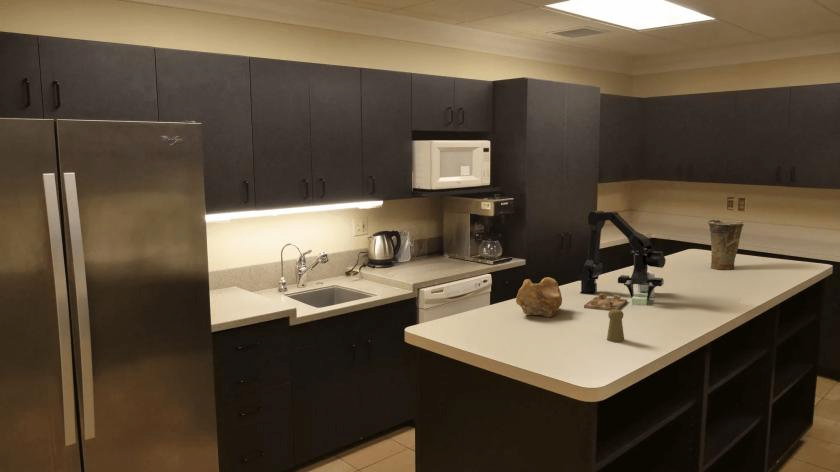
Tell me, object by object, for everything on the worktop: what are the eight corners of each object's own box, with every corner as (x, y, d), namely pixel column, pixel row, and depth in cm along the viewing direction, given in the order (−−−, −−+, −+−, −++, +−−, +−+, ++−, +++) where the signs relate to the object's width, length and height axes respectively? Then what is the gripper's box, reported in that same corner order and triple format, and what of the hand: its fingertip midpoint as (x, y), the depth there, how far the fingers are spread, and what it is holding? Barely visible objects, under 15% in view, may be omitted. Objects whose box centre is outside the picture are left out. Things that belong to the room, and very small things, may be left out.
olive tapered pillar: (604, 337, 228) (604, 308, 226) (620, 337, 228) (620, 307, 227) (610, 342, 222) (610, 312, 220) (627, 341, 222) (627, 311, 221)
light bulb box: (654, 297, 287) (655, 274, 286) (639, 297, 289) (639, 274, 287) (650, 292, 298) (651, 270, 296) (636, 292, 299) (636, 270, 298)
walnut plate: (584, 307, 272) (584, 300, 272) (595, 299, 287) (595, 292, 287) (616, 311, 265) (616, 303, 265) (627, 302, 280) (627, 295, 280)
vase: (706, 264, 363) (708, 218, 359) (741, 266, 355) (743, 219, 351) (705, 270, 347) (707, 222, 343) (742, 272, 339) (744, 223, 335)
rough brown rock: (541, 325, 251) (545, 288, 248) (509, 314, 263) (512, 279, 260) (575, 315, 266) (578, 281, 264) (543, 306, 278) (546, 273, 276)
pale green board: (631, 304, 276) (631, 298, 276) (634, 299, 287) (634, 292, 286) (646, 305, 273) (646, 299, 273) (648, 299, 284) (648, 293, 284)
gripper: (614, 266, 276) (614, 301, 278) (659, 269, 266) (658, 305, 268) (621, 262, 285) (620, 296, 287) (664, 265, 276) (663, 300, 278)
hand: (640, 299), depth 280 cm, fingers closed on pale green board, 6 cm apart
